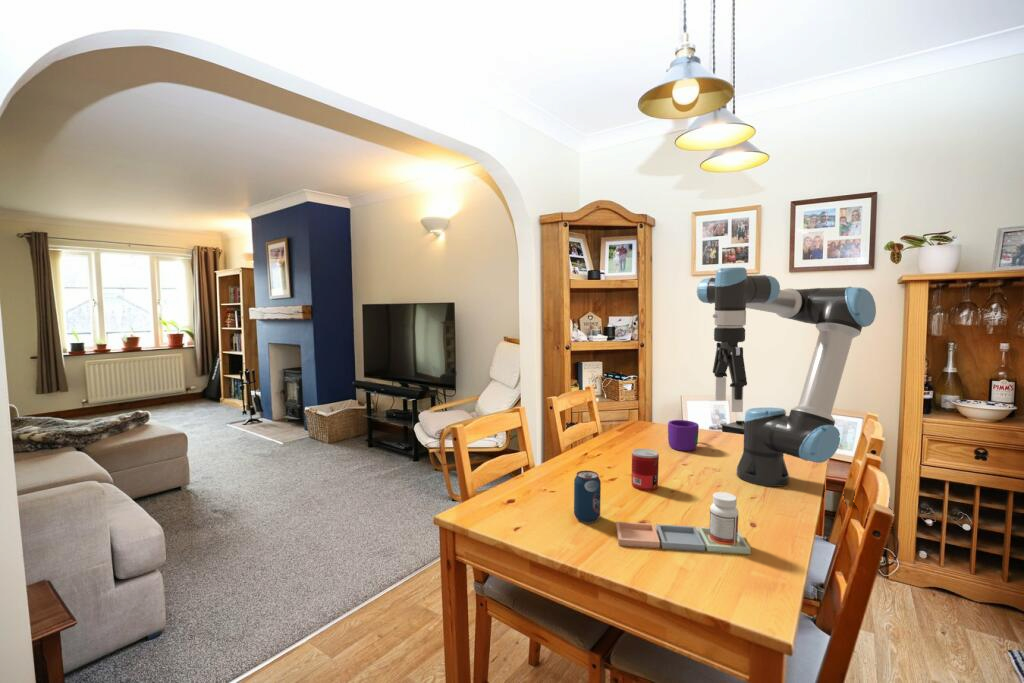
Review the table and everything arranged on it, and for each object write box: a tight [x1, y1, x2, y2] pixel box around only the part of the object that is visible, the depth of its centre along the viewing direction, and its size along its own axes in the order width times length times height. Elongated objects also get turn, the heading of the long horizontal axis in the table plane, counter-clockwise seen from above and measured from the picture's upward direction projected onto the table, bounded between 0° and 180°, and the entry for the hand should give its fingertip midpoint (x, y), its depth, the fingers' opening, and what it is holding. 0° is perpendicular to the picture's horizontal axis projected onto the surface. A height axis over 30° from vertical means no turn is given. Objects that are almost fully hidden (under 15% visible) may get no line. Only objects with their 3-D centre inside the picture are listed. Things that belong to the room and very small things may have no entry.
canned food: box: [631, 448, 660, 492], centre depth 150 cm, size 8×8×11 cm
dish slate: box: [655, 523, 706, 552], centre depth 117 cm, size 9×9×2 cm
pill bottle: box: [709, 491, 739, 546], centre depth 115 cm, size 6×6×11 cm
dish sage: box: [697, 526, 752, 555], centre depth 115 cm, size 9×9×2 cm
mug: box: [667, 419, 700, 452], centre depth 193 cm, size 17×11×10 cm, turn 150°
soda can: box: [573, 470, 602, 524], centre depth 128 cm, size 7×7×12 cm
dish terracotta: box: [615, 521, 661, 549], centre depth 118 cm, size 9×9×2 cm
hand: (727, 405), depth 129 cm, fingers open, 13 cm apart
